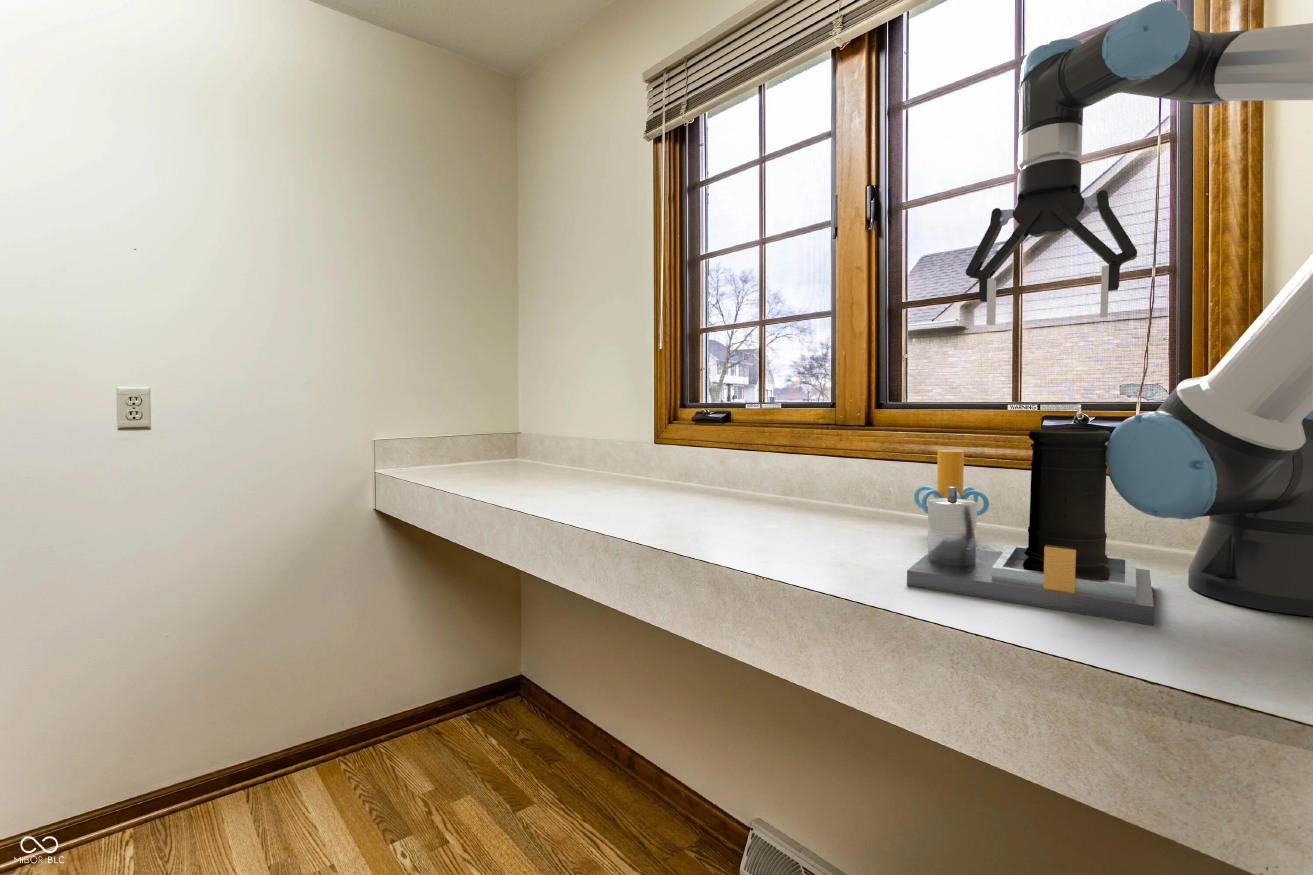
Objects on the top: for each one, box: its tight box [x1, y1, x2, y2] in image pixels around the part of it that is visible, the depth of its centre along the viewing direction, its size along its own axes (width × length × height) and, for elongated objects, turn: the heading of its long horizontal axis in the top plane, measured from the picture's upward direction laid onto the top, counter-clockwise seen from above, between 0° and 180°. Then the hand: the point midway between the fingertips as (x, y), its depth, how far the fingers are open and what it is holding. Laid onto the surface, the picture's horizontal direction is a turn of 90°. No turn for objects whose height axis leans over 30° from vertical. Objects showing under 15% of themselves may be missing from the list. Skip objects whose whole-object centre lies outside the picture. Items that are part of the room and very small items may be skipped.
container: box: [1023, 428, 1112, 581], centre depth 78 cm, size 9×9×18 cm
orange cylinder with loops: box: [913, 449, 990, 517], centre depth 107 cm, size 12×10×15 cm
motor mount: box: [906, 487, 1155, 626], centre depth 80 cm, size 25×17×12 cm
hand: (1044, 320), depth 89 cm, fingers open, 13 cm apart
